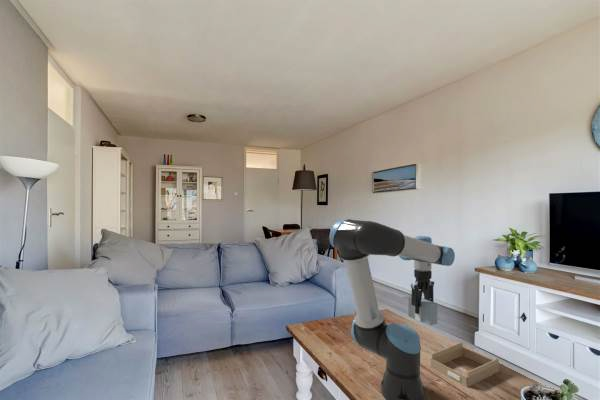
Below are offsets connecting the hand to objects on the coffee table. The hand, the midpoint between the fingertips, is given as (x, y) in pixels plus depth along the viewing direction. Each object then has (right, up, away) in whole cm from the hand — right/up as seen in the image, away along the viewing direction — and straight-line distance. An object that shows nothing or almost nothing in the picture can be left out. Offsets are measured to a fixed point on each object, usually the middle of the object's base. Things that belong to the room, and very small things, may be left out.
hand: (422, 319), depth 141 cm
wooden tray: (+11, -15, -15) cm, 24 cm away
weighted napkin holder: (0, 0, 0) cm, 0 cm away
